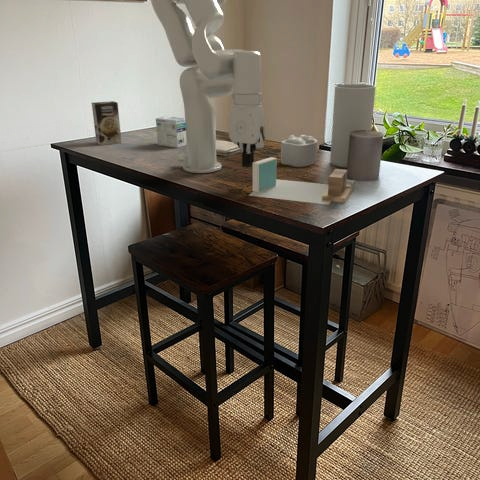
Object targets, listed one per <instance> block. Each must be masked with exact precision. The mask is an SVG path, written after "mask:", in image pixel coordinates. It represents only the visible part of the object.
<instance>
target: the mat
mask: <svg viewBox="0 0 480 480" xmlns="http://www.w3.org/2000/svg"><path fill="white" fill-rule="evenodd" d="M328 185H329V183H318V182H316V183H315V182H307V181H298V180H297V181H296V180H287V179H277V178H276V186H274V187H271V188H268V189H266V190H263V191H260V192H255V191H253V190H252V192H250V194H248V196H249V197H250V196H251V197H258V198H260V197H261V198H266V199H267V198H268V199H277V200H283V201H293V202H299V203H300V202H301V203H311V204H316V205H317V204H318V205H326V206H327V205H328V206H329V205H330V204H331V202H332V201H326V200H322V195H323V194H324V193H325V191H326V190H327V189H328Z"/></svg>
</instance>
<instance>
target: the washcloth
mask: <svg viewBox="0 0 480 480" xmlns="http://www.w3.org/2000/svg"><path fill="white" fill-rule="evenodd" d="M240 153H241V152H240V148H239V147H238V145H236V144H234V143H233V142H232V141H226V140H220V139H219V140H218V139H216V156H217V155H219V156H222V157H228V156H232V155H236V154H240Z"/></svg>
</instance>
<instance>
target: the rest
mask: <svg viewBox="0 0 480 480" xmlns="http://www.w3.org/2000/svg"><path fill="white" fill-rule="evenodd" d="M353 190H354V184H353V185H352V187H351V188H346V189H345V190H344V191H343V193H342V194H341V196H331V195H328V189H327V190H326V191H325V193H324V194H323V195H322V200H326V201H331V202H336V203H346V201H347V200H348V198H349V197H350V196H351V194H352V193H353Z"/></svg>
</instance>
